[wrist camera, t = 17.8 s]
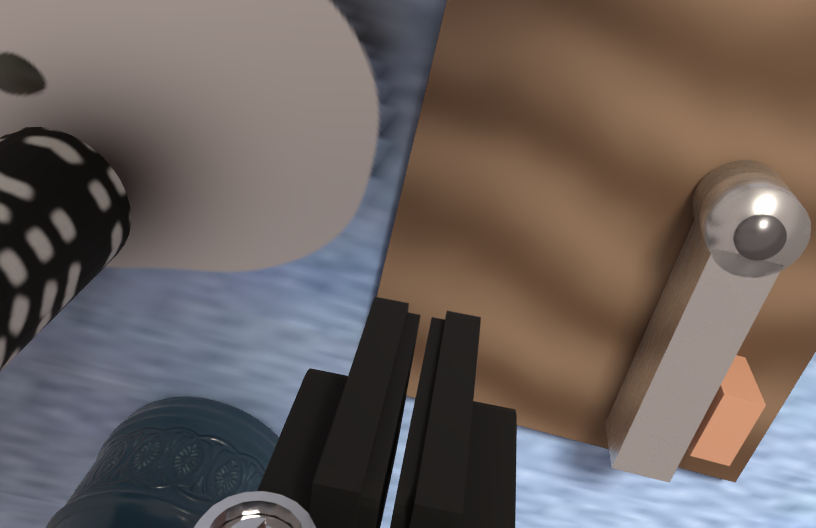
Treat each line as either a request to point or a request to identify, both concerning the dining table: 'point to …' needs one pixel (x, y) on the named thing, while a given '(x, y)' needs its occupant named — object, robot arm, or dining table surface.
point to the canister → (170, 466)
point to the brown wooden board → (598, 190)
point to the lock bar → (704, 313)
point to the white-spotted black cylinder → (52, 228)
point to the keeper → (729, 416)
